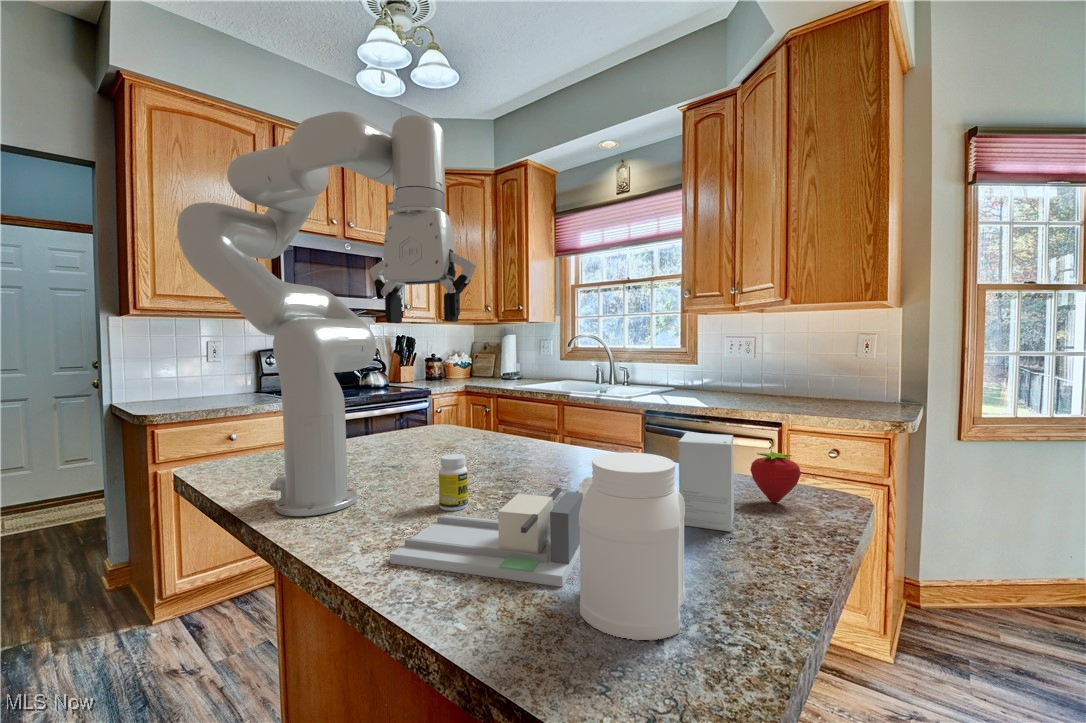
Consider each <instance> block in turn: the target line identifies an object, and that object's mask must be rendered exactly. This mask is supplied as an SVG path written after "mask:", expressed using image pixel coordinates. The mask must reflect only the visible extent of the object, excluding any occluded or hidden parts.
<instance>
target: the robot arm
mask: <svg viewBox="0 0 1086 723" xmlns="http://www.w3.org/2000/svg"><path fill="white" fill-rule="evenodd" d="M391 128H392V129H391V131H388V130H385V129H384V128H382V127H380V126H378V125H377V124H375V123H374V122H372V121H370V120H368V119H366V118H365V117H362V116H361V115H359V114H356V113H353V112H350V111H341V110H339V111H332V112H331V111H330V112H327V113H323V114H319V115H318V114H317V115H314V116H310V117H308V118H306V119H304V120H302V121H301V122H300V123H298V125H297V126H296V128H294V130H293V132H292V133H291V136H290V137H289V140H288V143H284V144H281V145H277V146H273V147H268V148H263V149H260V150H255V151H250V152H247V153H243V154H240V155H238V156H237V157H235V158H234V159H233V160H232V161H231V162H230V163H229V165H228V167H227V170H226V171H227V173H226V176H227V181H228V183H229V186H230V187H231V188H232V190H233V191H234V192H235V194H237V195H238V196H239V197H241V198H242V199H243V200H245V201H248V202H250V203H252V204H255V205H258V206H262V207H264V208H265V207H266V208H267V209H266V211H265V212H264V213H259V212H254V211H252V210H248V209H243V208H239V207H237V206H231V205H229V204H222V203H218V202H217V203H216V202H196V203H193V204H189V205H187V206H186V207H185V208H183V209H182V211H181V212H180V214H179V215H178V218H177V226H176V228H177V230H176V232H177V239H178V243H179V246H180V248H181V252H182V253H183V254H182V255H184V258H185V259H186V261H187V262H188V264H189V265H190V266H191V268H192V269H193V270H194V272H196V274H197V275H199V276H200V277H201V278H202V279H203V280H205V282H207V283H208V284H209V285H210V286H211V287H213V288H214V289H215V290H216V291H217V292H219V293H220V294H221V295H222V296H224V298H225V299H226V300H227V301H228V302H229V303H230V304H231V305H232V306H233V307H234V309H236V311H238V312H239V313H240V314H241V315H242V316H243V317H244V318H245V319H246V320H247V321H248V322H249V323H250V324H251V325H252V326H253V327H254V328H255V329H257V331H259V332H261V333H262V334H264V335H267V336H273V340H272V349H273V357H274V360H275V364H276V368H277V372H278V377H279V380H280V381H279V382H280V390H281V391H280V392H281V404H282V406H281V407H282V410H281V411H282V423H283V424H282V425H283V448H284V449H283V450H284V452H283V453H284V476H282V475H279V476H277V477H276V479H275V481H274V482H271V483H270V486H269V489H270V490H271V491H275V492H279V491H280V498H279V499H278V500H276V502H275V504H274V506H275V507H274V510H275V512H276V513H278V514H279V515H282V516H287V517H310V516H311V517H312V516H318V515H326V514H330V513H334V512H337V511H340V510H343V509H345V508H348V507H350V506H352V505H353V504H355V503H356V502H357V501H358V492H357V490H355V489H353V488H350V487H348V464H347V463H348V462H347V460H348V459H347V458H348V457H347V430H346V428H347V427H346V426H347V425H346V401H345V396H344V395H345V394H344V393H343V389H342V387H341V385H340V383H339V381H338V379H337V377H336V375H335V373H347V372H355V371H358V370H359V371H360V370H362V369H364V368H366V367H368V366H369V365H370V364H371V363H372V362H373V360H374V359H375V356H376V353H377V341H376V338H375V335H374V333H373V332H372V329H371V328H370V327H369V325H368V324H366V323H365V322H364V320H362V319H361V318H360V317H359V316H358V315H357V314H356V313H355V312H353V310H352V309H350V308H349V307H348V306H347V305H345V304H344V303H343V302H342V301H341V300H340V299H339V298H338V297H337V296H335V295H334V294H333V293H331V291H330V292H329V291H328V290H325V289H324V288H321V287H318V286H313V285H305V284H297V283H292V282H291V283H290V282H288V281H283V280H281V279H280V278H278V277H277V276H276V275H274V274H273V273H272V272H271V271H270V270H269V269H268V268H267V267H266V266H265V265H263V264H262V263H261V262H260V261H259V260H256V259H260V260H272V259H276V258H278V257H279V256H281V255H282V254H284V253H285V251H286V250H288V249H287V248H289V245H290V244H291V243H292V242H293V240H294V239H295V237H296V236H297V234H298V233H299V231H300V230H301V228H302V227H303V226H304V224H305V223H306V221H307V220H308V218H309V216H310V215H311V213H312V211H313V210H314V207H315V205H316V203H317V200H318V196H319V195H321V194H323V192H325V191H326V190H327V188H328V184H329V181H330V172H329V168H331V167H333V168H334V167H341V168H344V169H346V170H348V171H351V172H354V173H356V174H359V175H361V176H363V177H365V178H368V179H370V180H372V181H374V182H376V183H379V184H381V185H384V186H389V187H390V186H392V194H393V195H392V201H389V202H388V203H387V204H386V208H387V211H389V212H392V213H393V214H389V215H388V218H387V222H386V226H385V227H386V228H385V233H384V242H383V255H382V256H383V257H382V258H383V259H382V260H381V261H379V262H377V263H376V264H375V265H374V266H372V267H370V268H369V271H368V272H369V274H370V277H371V279H372V281H373V283H374V286H375V288H377V289H378V290H379V292H380V294H381V296H383V297H384V309H385V310H384V311H385V312H384V314H385V317H386V323H387V324H401V323H402V322H403V311H402V310H403V308H402V307H403V304H402V298H401V297H399V295H400V293H401V292H402V290H403V289H404V288H405V286H407V285H408V286H410V285H411V286H412V285H414V286H415V285H432V284H440V285H441V286H442V287H443V288H444V289H445V290H446V293H444V294H443V316H444V317H443V319H444V321H445V322H449V323H450V322H451V323H457V322H458V321H459V316H460V314H461V303H460V301H461V298H460V296H461V295H463V293H464V290H465V288H467V287H468V285H469V284H470V283H471V278H472V277H473V274H474V272H475V270H476V266H477V265H476V263H475V262H473V261H471V260H469V259H467V258H465V257H463V256H461V255H459V254H457V253H456V246H455V245H456V244H455V239H454V238H455V237H454V232H453V226H452V223H451V219H450V215H448V214H447V212H446V174H445V173H446V170H445V169H446V167H445V166H446V164H445V163H446V162H445V133H444V130H443V128H442V126H441V125H440V123H438V122H437V121H435V120H434V119H432V118H430V117H426V116H422V115H414V114H413V115H405V116H401V117H399V118H397V119H396V120H395V122H393V124H392V127H391ZM457 265H458V266H459V267H461V273H460V275H458V276H457V278H456V275H457Z"/></svg>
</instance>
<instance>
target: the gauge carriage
mask: <svg viewBox="0 0 1086 723" xmlns="http://www.w3.org/2000/svg"><path fill="white" fill-rule="evenodd" d="M561 493H562V488H561V487H555V489H554V490H553V491H552V492H551V493H550V494H549V495H548V496H546V495H537V494H536V495H533V494H523V493H522V494H521V493H517V494H516V495H515V496H514V497H512V498H511V499H510V500H509V501H508V502H507V503H506V504H505V505H503V506H502V508H500V509H499V510H498V511H497V514H498V518H497V520H498V526H499V549H504V550H512V551H521V552H529V553H538V554H540V552H541V551H542V549H543V548H544V547H545V545H546V544H547V542H548V541H549V539H550V511H551V510H552V509H553V508H554V501H555V499H557V498H558V496H559V495H560V494H561Z"/></svg>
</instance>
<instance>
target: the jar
mask: <svg viewBox="0 0 1086 723" xmlns="http://www.w3.org/2000/svg"><path fill="white" fill-rule="evenodd" d="M591 467H592V471H591V475H592V477H591V478H592V484H591V486H590V487H589V489H588V491H587V493H586V495H585V497H584V499H583V500H582V503H581V507H580V512H579V526H580V554H579V561H580V562H579V564H580V565H579V568H580V570H579V572H580V573H579V574H580V575H579V576H580V577H579V578H580V580H579V582H580V583H579V585H580V586H579V587H580V589H579V590H580V594H579V595H580V598H579V615H580V616H581V617H582V619H583V620H584V621H585V622H586V623H587V624H589V626H591V627H593V628H594V629H596V630H597V629H598V631H600V632H601V631H602V632H601V633H603V634H606V633H607V634H606V635H609V634H610V635H609V636H611V635H613V636H612V637H615V636H616V638H618V637H621V638H620V639H623V638H627V639H626V640H629V639H632V640H631V641H639V640H649V641H656V640H658V639H659V640H663V639H667V637H668V638H671V637H673V636H676V635H677V634H679V633H680V629H681V613H680V612H681V611H680V609H681V607H682V606H683V605H684V604H685V599H686V593H685V592H686V587H685V526H684V515H685V503H684V498H683V496H682V495H681V494H680V492H679V489H677V486H676V463H675V462H674V460H673V459H670V458H668V457H665V456H661V455H658V454H652V453H644V452H614V453H607V454H602V455H598V456H596V457H595V458H593V459H592V461H591Z"/></svg>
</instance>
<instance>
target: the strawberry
mask: <svg viewBox="0 0 1086 723" xmlns="http://www.w3.org/2000/svg"><path fill="white" fill-rule="evenodd" d="M774 445H775V443H773V445H772V446H771V448H770V453H765V452H764V453H763V452H762V453H761V452H759V453H756V455H759V456H763V457H760V458H756V459H755V460H753V461H752V463H751V465H750V466H751V467H750V473H751V477H752V480H753V481H754V483H755V484H756V486H757V487H758V488H759V489H760V490H759V491H761V492H762V493H763V494H764V496H765V497H766V498H767V499H768V500H769V501H770V502H771V503H773V504H777V503H779V502H781V501H782V499H784V497H786V496H787V495H788V494H790V492H791V491H792V490H793V489H794V488H795V487H796V486H797V485H798V483H799V480H800V477H801V474H802V473H801V469H800V466H799V465H798V464H797V463H796V462H795V461H793V460H791V458H790V457H792V456H793V455H791V454H783V453H781V452H780V453H779V452H773V448H774Z"/></svg>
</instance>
